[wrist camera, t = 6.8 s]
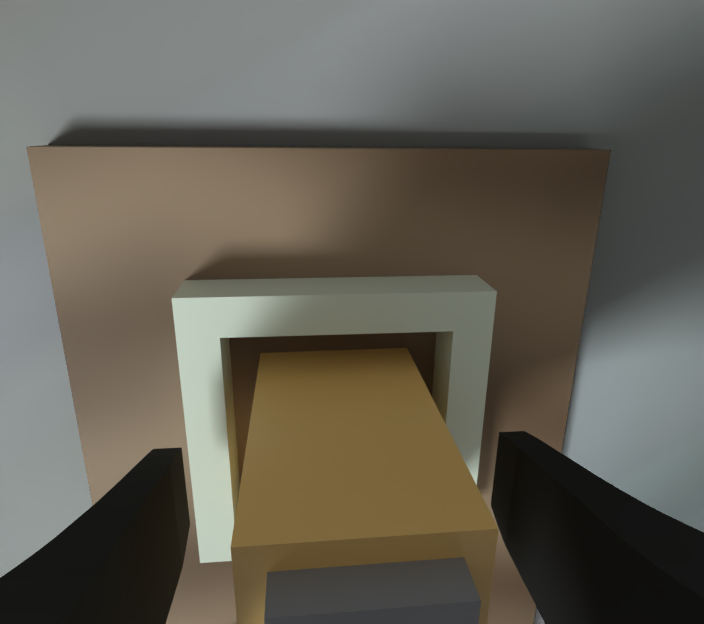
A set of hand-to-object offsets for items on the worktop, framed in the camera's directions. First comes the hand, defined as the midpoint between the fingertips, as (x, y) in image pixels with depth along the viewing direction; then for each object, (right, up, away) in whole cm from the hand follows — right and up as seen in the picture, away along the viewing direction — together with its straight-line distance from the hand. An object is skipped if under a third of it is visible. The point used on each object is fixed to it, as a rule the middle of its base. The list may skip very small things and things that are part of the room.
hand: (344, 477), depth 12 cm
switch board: (0, -4, +6) cm, 7 cm away
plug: (0, +1, +3) cm, 3 cm away
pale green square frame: (0, +1, +4) cm, 4 cm away
